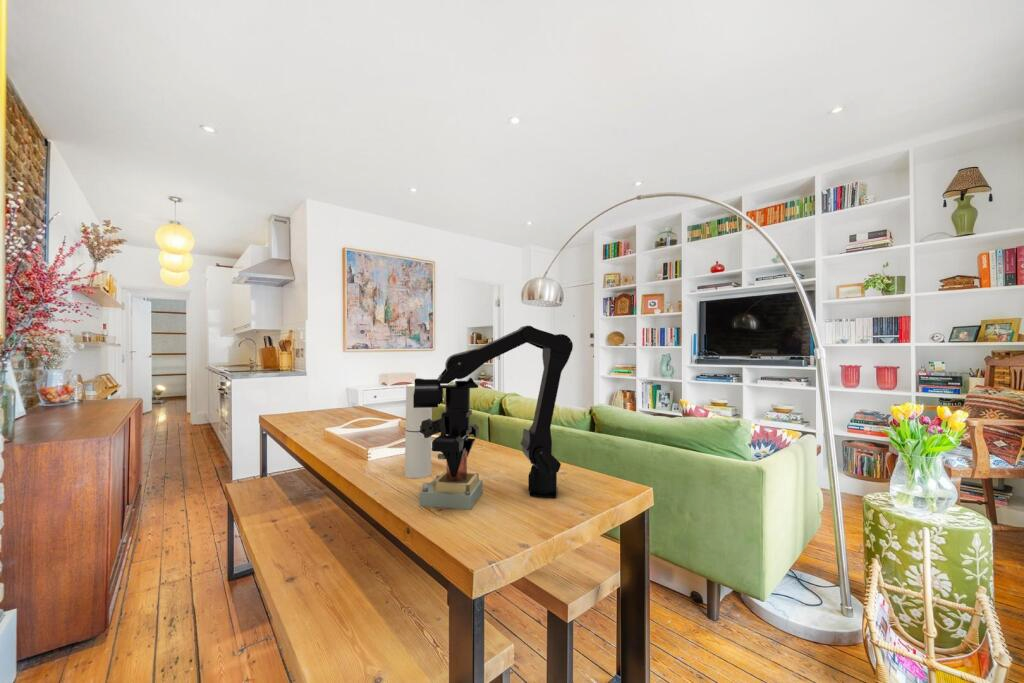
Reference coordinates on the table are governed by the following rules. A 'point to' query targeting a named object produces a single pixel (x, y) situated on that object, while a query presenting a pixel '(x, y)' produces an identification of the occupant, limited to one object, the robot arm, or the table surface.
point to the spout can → (461, 472)
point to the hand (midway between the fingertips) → (456, 473)
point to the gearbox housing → (451, 492)
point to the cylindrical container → (416, 439)
